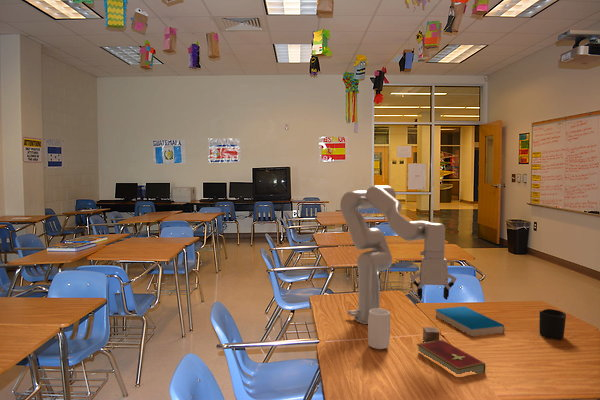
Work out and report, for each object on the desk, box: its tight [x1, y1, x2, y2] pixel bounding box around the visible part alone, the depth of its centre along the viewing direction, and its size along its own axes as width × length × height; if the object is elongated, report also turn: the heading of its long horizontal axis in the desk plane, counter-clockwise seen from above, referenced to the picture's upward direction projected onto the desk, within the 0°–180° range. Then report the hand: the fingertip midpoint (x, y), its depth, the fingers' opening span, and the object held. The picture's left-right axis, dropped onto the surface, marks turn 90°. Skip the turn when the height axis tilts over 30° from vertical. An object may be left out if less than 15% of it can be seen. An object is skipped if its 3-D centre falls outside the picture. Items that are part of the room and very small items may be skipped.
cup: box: [367, 307, 391, 350], centre depth 159 cm, size 8×8×14 cm
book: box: [435, 305, 505, 337], centre depth 185 cm, size 17×4×25 cm
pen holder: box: [538, 308, 567, 341], centre depth 173 cm, size 9×9×10 cm
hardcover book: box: [416, 339, 487, 375], centre depth 148 cm, size 12×21×4 cm, turn 22°
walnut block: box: [422, 326, 440, 342], centre depth 163 cm, size 5×5×6 cm
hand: (432, 298), depth 162 cm, fingers open, 9 cm apart
